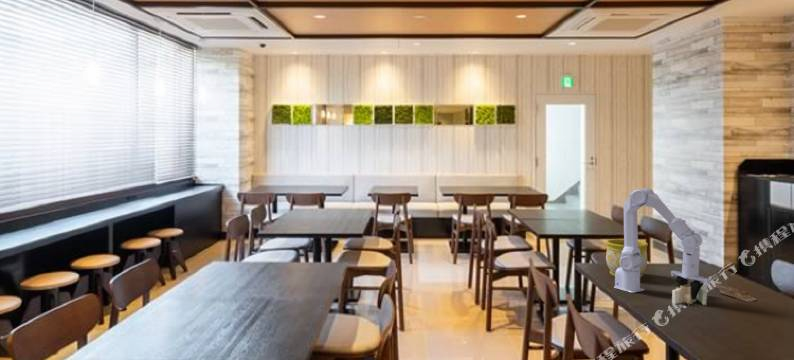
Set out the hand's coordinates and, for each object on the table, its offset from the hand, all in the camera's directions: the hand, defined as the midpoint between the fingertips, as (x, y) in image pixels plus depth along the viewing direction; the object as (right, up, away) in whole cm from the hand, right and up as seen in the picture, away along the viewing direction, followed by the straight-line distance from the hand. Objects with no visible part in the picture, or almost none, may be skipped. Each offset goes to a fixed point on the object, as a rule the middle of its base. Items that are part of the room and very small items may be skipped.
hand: (688, 297), depth 201 cm
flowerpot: (-7, +1, +39) cm, 40 cm away
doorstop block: (0, -1, 0) cm, 1 cm away
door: (+4, -1, -2) cm, 5 cm away
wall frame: (+1, -1, +1) cm, 2 cm away
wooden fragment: (+24, -1, +10) cm, 26 cm away
